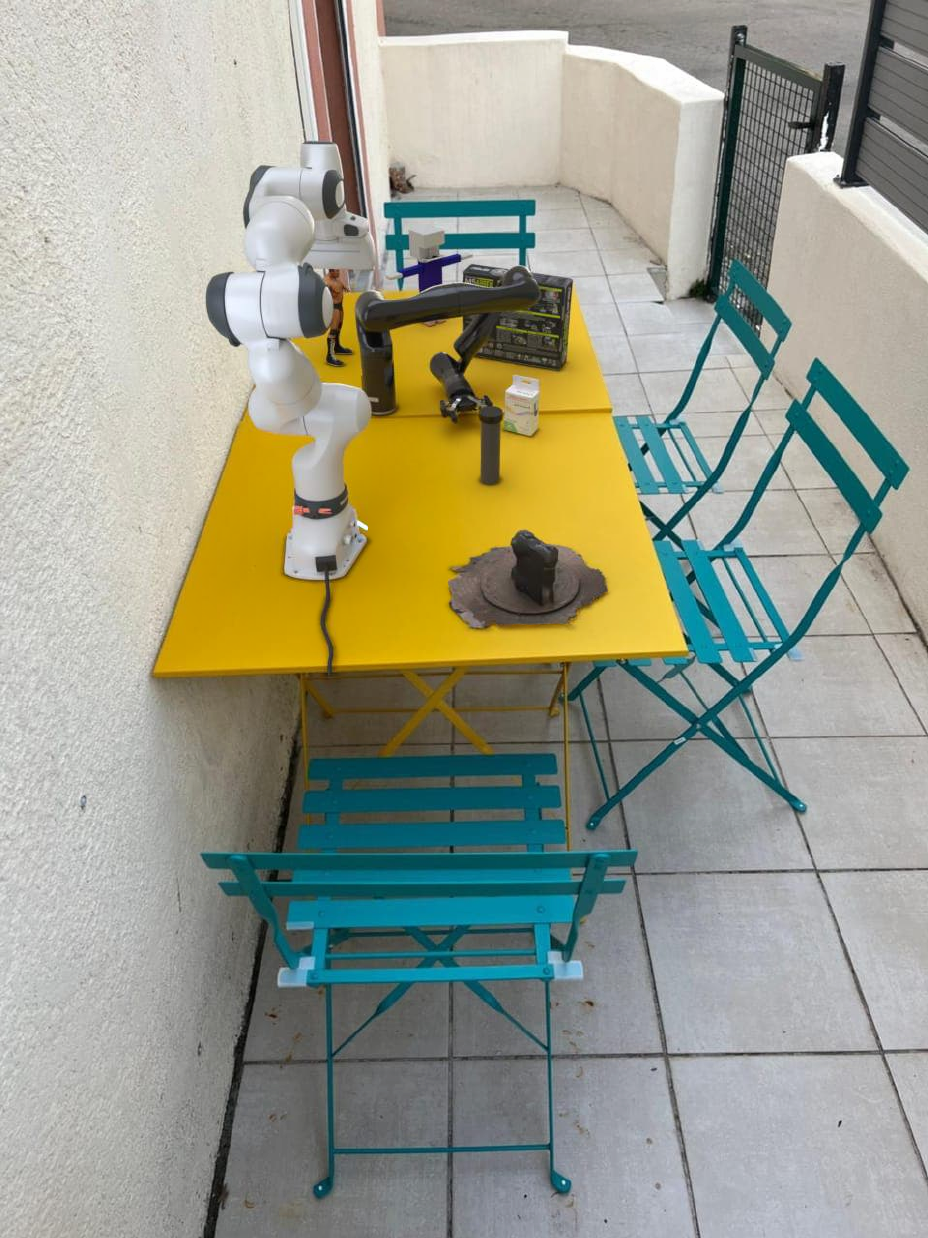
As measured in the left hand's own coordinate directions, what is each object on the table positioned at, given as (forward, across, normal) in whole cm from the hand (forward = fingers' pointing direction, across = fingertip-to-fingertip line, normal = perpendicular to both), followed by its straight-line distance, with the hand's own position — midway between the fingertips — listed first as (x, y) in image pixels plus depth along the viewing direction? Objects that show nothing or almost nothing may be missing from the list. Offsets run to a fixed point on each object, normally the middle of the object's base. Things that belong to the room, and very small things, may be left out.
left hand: (333, 287), depth 200 cm
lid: (+29, +36, -1) cm, 46 cm away
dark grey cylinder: (+48, +36, -1) cm, 60 cm away
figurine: (+48, -17, +69) cm, 86 cm away
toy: (+48, +9, +102) cm, 113 cm away
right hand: (+41, +30, +19) cm, 54 cm away
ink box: (+48, +43, +26) cm, 70 cm away
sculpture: (+48, +47, -45) cm, 81 cm away
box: (+48, +39, +73) cm, 96 cm away
